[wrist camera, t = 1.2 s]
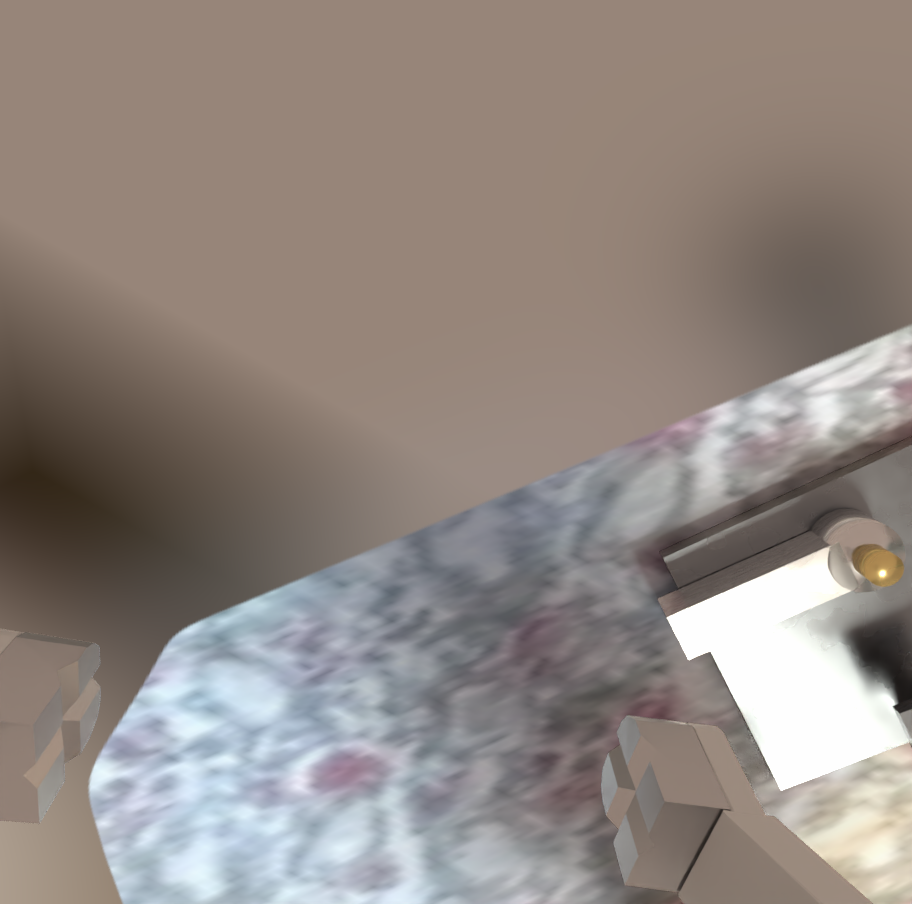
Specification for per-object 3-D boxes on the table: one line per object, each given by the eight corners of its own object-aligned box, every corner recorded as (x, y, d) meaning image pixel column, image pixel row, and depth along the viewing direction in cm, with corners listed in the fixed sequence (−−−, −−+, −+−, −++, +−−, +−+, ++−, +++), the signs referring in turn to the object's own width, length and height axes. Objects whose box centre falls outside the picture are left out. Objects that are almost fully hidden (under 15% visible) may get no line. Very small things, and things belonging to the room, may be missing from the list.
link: (863, 497, 42) (888, 509, 39) (890, 556, 42) (916, 573, 40) (653, 591, 44) (662, 609, 41) (681, 646, 45) (692, 667, 42)
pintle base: (925, 429, 42) (993, 448, 36) (1033, 679, 44) (1113, 735, 38) (659, 551, 45) (681, 587, 39) (774, 778, 47) (811, 845, 42)
